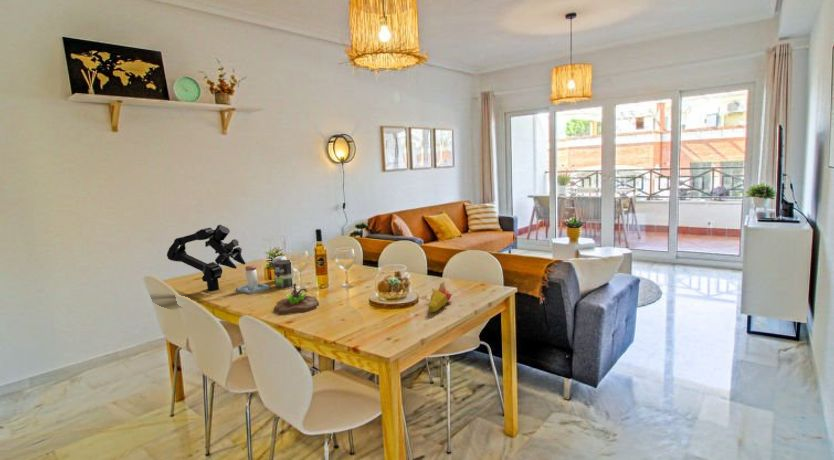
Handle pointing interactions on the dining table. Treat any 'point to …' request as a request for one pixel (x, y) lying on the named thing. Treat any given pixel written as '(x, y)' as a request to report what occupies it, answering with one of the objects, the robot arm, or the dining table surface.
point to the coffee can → (283, 274)
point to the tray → (260, 288)
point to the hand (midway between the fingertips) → (240, 266)
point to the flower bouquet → (439, 297)
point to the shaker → (251, 277)
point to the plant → (296, 303)
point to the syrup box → (279, 258)
